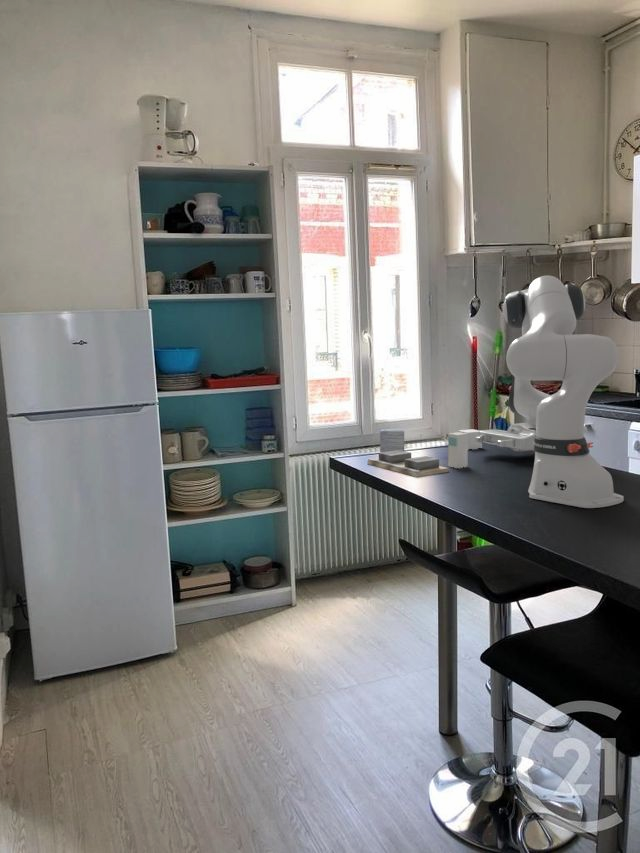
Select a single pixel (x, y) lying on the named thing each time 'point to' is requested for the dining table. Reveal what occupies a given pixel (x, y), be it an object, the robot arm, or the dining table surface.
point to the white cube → (472, 438)
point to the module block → (457, 450)
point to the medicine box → (391, 440)
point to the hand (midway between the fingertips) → (487, 441)
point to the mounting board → (408, 463)
